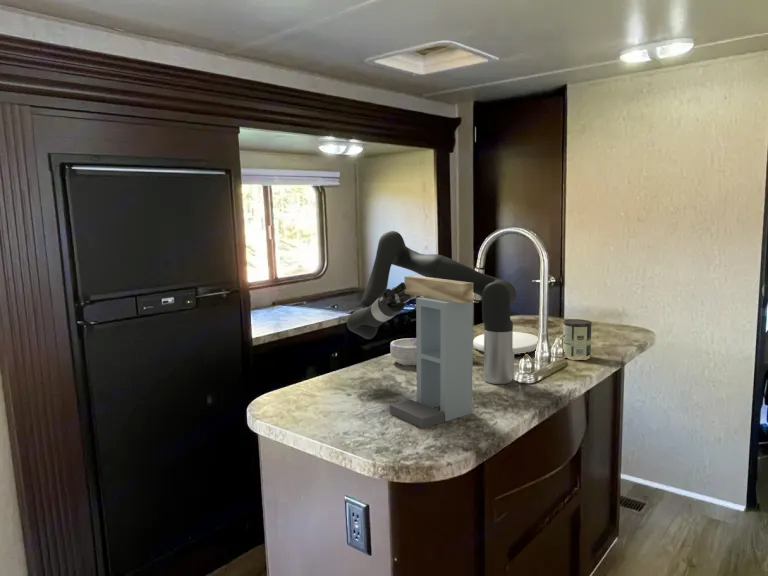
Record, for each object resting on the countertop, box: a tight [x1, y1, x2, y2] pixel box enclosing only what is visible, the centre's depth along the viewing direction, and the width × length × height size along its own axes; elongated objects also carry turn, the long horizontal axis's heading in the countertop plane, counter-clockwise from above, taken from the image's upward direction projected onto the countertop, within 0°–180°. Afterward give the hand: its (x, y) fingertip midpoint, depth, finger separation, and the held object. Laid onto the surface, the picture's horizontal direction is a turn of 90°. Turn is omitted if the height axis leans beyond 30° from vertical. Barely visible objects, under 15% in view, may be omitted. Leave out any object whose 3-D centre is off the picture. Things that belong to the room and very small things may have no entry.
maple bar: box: [403, 275, 474, 303], centre depth 156 cm, size 4×24×5 cm, turn 36°
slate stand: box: [415, 297, 474, 422], centre depth 156 cm, size 10×12×32 cm
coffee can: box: [562, 318, 593, 357], centre depth 214 cm, size 10×10×14 cm
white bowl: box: [389, 337, 417, 366], centre depth 210 cm, size 15×15×8 cm
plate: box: [473, 331, 539, 353], centre depth 229 cm, size 28×6×27 cm
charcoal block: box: [389, 399, 445, 429], centre depth 153 cm, size 8×14×2 cm, turn 36°
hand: (416, 284), depth 163 cm, fingers open, 8 cm apart
